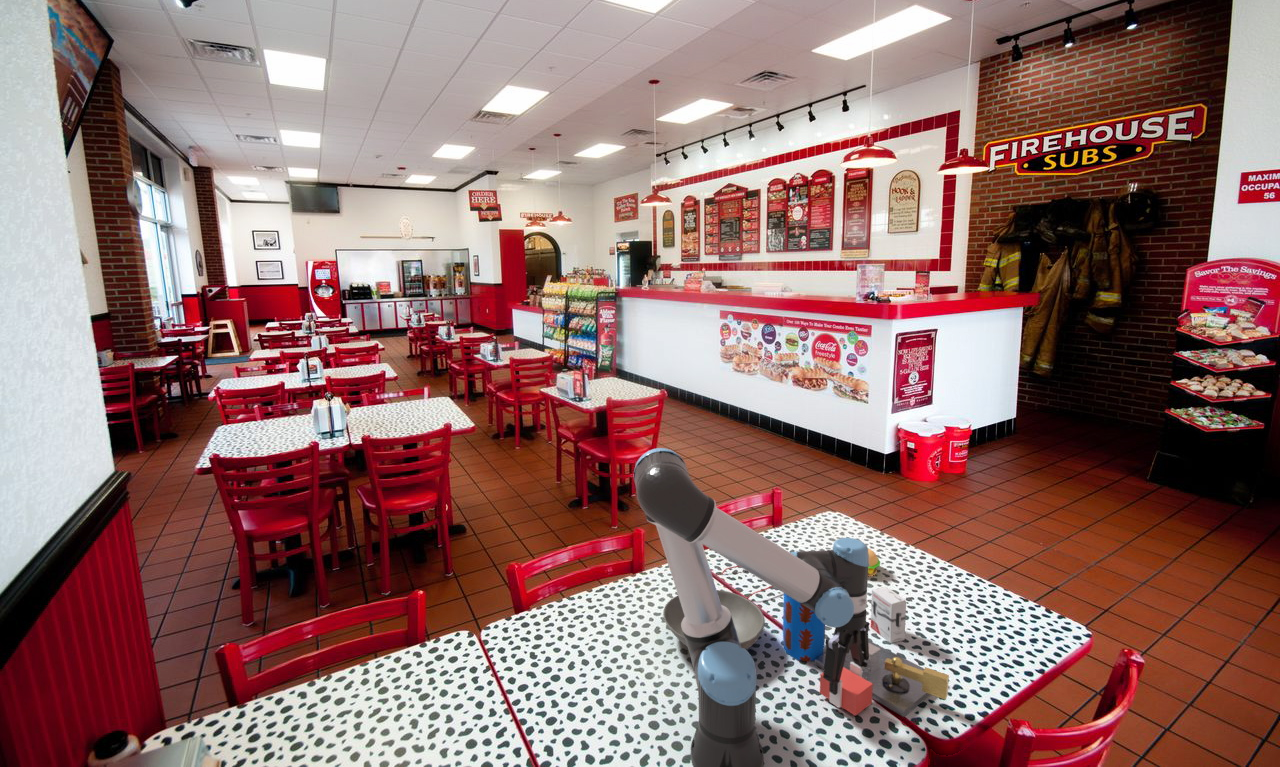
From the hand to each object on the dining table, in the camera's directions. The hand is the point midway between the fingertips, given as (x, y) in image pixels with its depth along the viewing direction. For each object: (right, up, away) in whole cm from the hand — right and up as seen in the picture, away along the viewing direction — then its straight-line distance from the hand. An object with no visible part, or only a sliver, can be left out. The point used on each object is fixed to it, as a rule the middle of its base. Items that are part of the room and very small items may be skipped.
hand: (845, 696), depth 138 cm
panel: (+11, 0, +10) cm, 15 cm away
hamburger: (+27, +9, +62) cm, 68 cm away
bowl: (-28, +2, +25) cm, 37 cm away
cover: (0, 0, 0) cm, 0 cm away
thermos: (-4, +2, +21) cm, 21 cm away
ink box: (+21, +3, +27) cm, 34 cm away
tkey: (+17, +2, +1) cm, 17 cm away
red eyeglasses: (-12, +6, +54) cm, 55 cm away
